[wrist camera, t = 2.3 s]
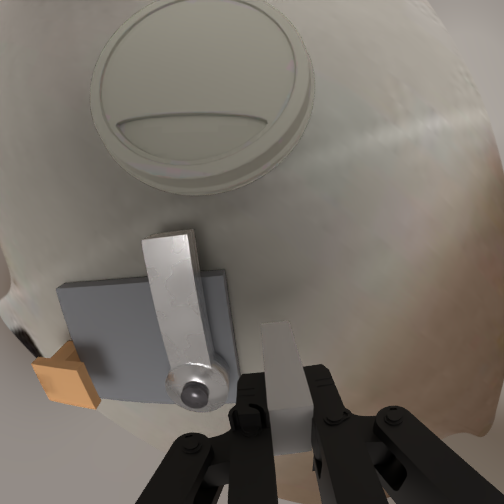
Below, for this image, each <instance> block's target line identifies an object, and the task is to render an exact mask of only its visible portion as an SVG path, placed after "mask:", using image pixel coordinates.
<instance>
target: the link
mask: <svg viewBox="0 0 504 504" xmlns="http://www.w3.org/2000/svg"><path fill="white" fill-rule="evenodd" d="M141 241H142V247H143V253H144V258H145V264H146V269H147V274H148V279H149V284H150V288H151V293H152V298H153V302H154V306H155V310H156V315H157V319H158V323H159V327H160V331H161V334H162V338H163V342H164V346H165V349H166V353H167V356H168V360H169V363H170V366H171V368H170V370H169V373H168V375H167V378H166V381H165V388H166V392H167V394H168V395H169V397H170V398H171V399H172V400H173V401H174V402H175V403H176V404H177V405H179V406H181V407H183V408H185V409H187V410H190V411H195V412H210V411H214V410H216V409H218V408H220V407H221V406H222V405H223V404H224V403H225V402H226V400H227V398H228V391H229V379H230V370H229V367H228V365H227V363H226V362H225V361H224V360H223V359H222V358H221V357H220V356H219V355H217V354H216V353H215V352H214V347H213V341H212V336H211V331H210V326H209V320H208V315H207V309H206V303H205V297H204V292H203V285H202V279H201V273H200V267H199V260H198V253H197V247H196V239H195V232H194V229H189V230H181V231H173V232H165V233H157V234H152V235H150V236H148V237H146V238H144V239H142V240H141Z"/></svg>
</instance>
